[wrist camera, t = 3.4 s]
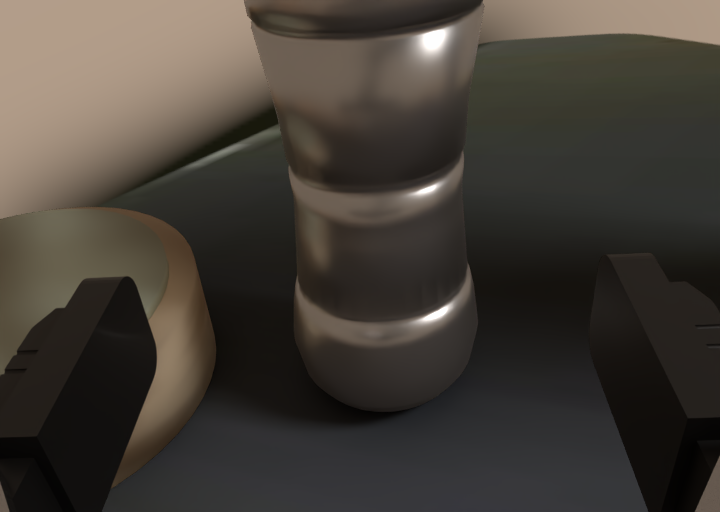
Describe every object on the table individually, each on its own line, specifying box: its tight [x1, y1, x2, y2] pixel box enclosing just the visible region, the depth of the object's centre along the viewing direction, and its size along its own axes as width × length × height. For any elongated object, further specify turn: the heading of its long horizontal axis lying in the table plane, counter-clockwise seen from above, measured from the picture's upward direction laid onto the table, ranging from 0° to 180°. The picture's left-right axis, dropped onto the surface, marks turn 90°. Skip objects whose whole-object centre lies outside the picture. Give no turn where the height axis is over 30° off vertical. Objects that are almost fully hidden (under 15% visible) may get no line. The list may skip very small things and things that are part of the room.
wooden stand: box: [0, 207, 216, 489], centre depth 26 cm, size 14×14×4 cm
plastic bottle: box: [244, 0, 484, 412], centre depth 20 cm, size 6×7×20 cm
